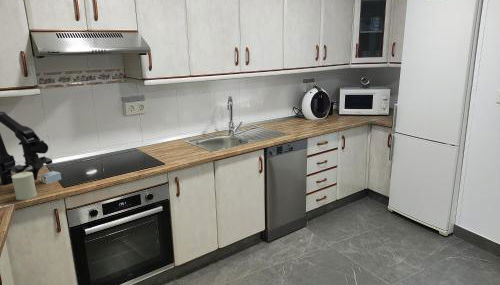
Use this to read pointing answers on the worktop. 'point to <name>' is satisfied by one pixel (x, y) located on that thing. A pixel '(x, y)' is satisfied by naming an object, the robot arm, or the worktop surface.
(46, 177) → the light blue box
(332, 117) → the worktop surface
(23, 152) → the robot arm
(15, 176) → the can
